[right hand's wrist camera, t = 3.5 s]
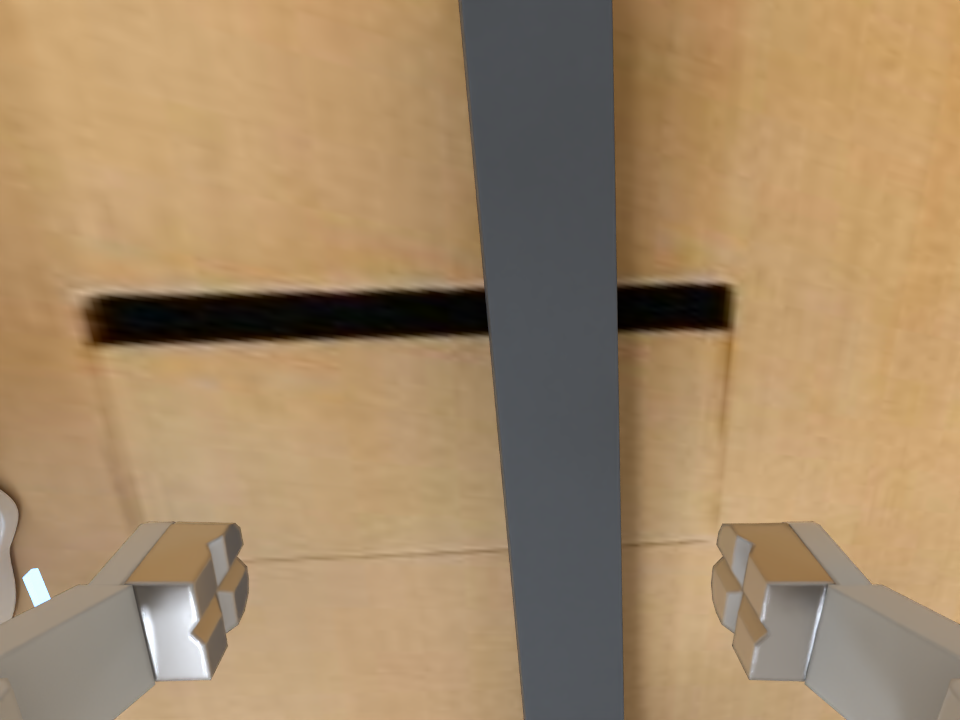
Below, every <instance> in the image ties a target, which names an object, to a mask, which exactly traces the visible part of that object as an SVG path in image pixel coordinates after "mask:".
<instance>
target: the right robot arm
mask: <svg viewBox="0 0 960 720" xmlns="http://www.w3.org/2000/svg"><path fill="white" fill-rule="evenodd" d="M17 524H18V508H17V506H16V504H15V502H14V501H13V500H12V499H11V498H10V497H9V496H8V495H7V494H6V493H4V492H3V491H2V490H1V489H0V720H114V719H115V718H116V717H117V716H119V715H120V714H121V713H122V712H123V711H125V710H126V709H127V708H128V707H129V706H130V705H132V704H133V703H134V702H135V701H136V700H137V699H139V698H140V697H141V696H142V695H143V694H145V693H146V692H147V691H148V690H149V689H150V688H152V687H153V686H154V685H155V681H185V680H211V679H212V677H213V675H214V673H215V671H216V669H217V667H218V665H219V663H220V661H221V659H222V657H223V655H224V653H225V650H226V648H227V646H228V644H227V638H226V633H227V632H229V631H230V630H231V629H233V628H234V627H236V626H237V625H238V624H239V622H240V620H241V618H242V615H243V613H244V611H245V607H246V602H247V598H248V593H249V577H248V570H247V566H246V565H245V564H244V563H243V562H242V561H241V560H240V559H239V558H238V557H237V555H238V553H239V552H240V550H241V548H242V546H243V539H242V534H241V529H240V527H239V526H238V525H237V524H236V523H214V522H146V523H143V524H141V525H140V526H139V527H138V528H137V529H136V530H135V531H134V532H133V534H132V535H131V536H130V537H129V538H128V539H127V540H126V542H125V543H124V544H123V545H122V546H121V547H120V548H119V550H118V551H117V552H116V553H115V554H114V555H113V556H112V558H111V559H110V560H109V561H108V562H107V563H106V564H105V566H104V567H103V568H102V569H101V570H100V571H99V572H98V574H97V575H96V576H95V577H94V578H93V579H92V580H91V582H90V583H89V584H88V585H76V586H75V587H73V588H71V589H69V590H67V591H65V592H63V593H61V594H59V595H57V596H55V597H53V598H51V599H50V596H49V594H48V592H47V589H46V587H45V584H44V582H43V580H42V577H41V575H40V572H39V570H38V568H37V569H31V570H30V571H29V572H28V573H27V574H26V575H25V576H24V577H23V580H24V582H25V585H26V587H27V589H28V592H29V594H30V596H31V599H32V601H33V603H34V606H35V607H33V608H31V609H29V610H27V611H25V612H23V613H21V614H19V615H18V616H16V617H14V618H12V617H13V613H14V609H15V603H16V585H15V579H14V574H13V569H12V564H11V558H10V546H11V544H12V541H13V538H14V535H15V532H16V528H17ZM717 546H718V548H719V550H720V552H721V553H722V555H723V557H722V558H721V559H720V560H719V561H718V562H717V563H716V564H715V565H714V566H713V571H712V579H711V589H712V599H713V603H714V607H715V610H716V613H717V615H718V618H719V620H720V622H721V624H722V625H723V626H724V627H726V628H727V629H729V630H730V631H731V632H733V633H734V639H733V644H732V646H733V648H734V650H735V652H736V654H737V656H738V658H739V660H740V662H741V664H742V666H743V668H744V670H745V672H746V674H747V676H748V678H749V680H774V681H805V685H806V686H808V687H809V688H810V689H811V690H812V691H813V692H815V693H816V694H817V695H818V696H819V697H820V698H822V699H823V700H824V701H825V702H826V703H828V704H829V705H830V706H831V707H832V708H833V709H835V710H836V711H837V712H838V713H839V714H840V715H842V716H843V717H844V718H845V719H846V720H960V624H958V623H956V622H954V621H952V620H950V619H948V618H946V617H944V616H942V615H940V614H938V613H936V612H935V611H933V610H931V609H929V608H927V607H925V606H923V605H921V604H919V603H917V602H915V601H913V600H911V599H909V598H907V597H905V596H903V595H901V594H899V593H897V592H895V591H893V590H891V589H889V588H887V587H885V586H884V585H872V584H871V583H870V582H869V580H868V579H867V578H866V577H865V576H864V575H863V574H862V572H861V571H860V570H859V569H858V568H857V567H856V566H855V564H854V563H853V562H852V561H851V560H850V559H849V558H848V556H847V555H846V554H845V553H844V552H843V551H842V550H841V548H840V547H839V546H838V545H837V544H836V543H835V542H834V540H833V539H832V538H831V537H830V536H829V535H828V534H827V532H826V531H825V530H824V529H823V528H822V527H821V526H820V525H819V524H817V523H815V522H813V521H803V522H782V523H738V524H722V526H721V528H720V530H719V533H718V539H717Z"/></svg>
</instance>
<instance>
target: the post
mask: <svg viewBox="0 0 960 720" xmlns="http://www.w3.org/2000/svg"><path fill="white" fill-rule="evenodd" d="M458 1H459V12H460V23H461V34H462V45H463V56H464V67H465V78H466V89H467V100H468V111H469V122H470V133H471V143H472V154H473V165H474V176H475V187H476V198H477V209H478V220H479V231H480V242H481V253H482V264H483V275H484V286H485V297H486V308H487V319H488V330H489V341H490V352H491V363H492V374H493V385H494V396H495V407H496V418H497V429H498V440H499V451H500V462H501V473H502V484H503V495H504V506H505V517H506V528H507V539H508V550H509V561H510V572H511V583H512V594H513V605H514V616H515V627H516V638H517V649H518V660H519V671H520V682H521V693H522V704H523V715H524V720H624V687H623V627H622V566H621V505H620V444H619V384H618V323H617V262H616V201H615V141H614V80H613V19H612V0H458Z"/></svg>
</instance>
